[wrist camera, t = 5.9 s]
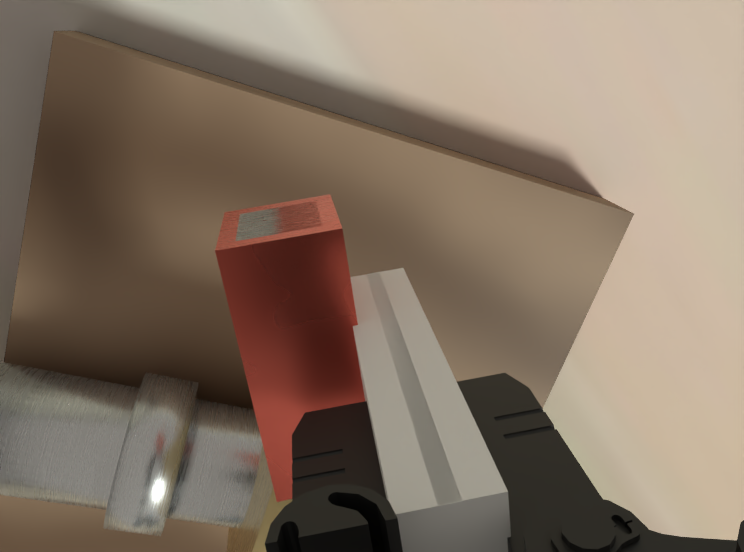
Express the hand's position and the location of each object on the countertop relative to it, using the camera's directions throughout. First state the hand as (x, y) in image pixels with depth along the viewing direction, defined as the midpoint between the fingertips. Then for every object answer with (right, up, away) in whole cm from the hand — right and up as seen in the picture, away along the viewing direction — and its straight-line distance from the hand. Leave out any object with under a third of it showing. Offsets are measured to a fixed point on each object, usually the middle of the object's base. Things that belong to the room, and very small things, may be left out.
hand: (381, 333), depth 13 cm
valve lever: (-1, -3, +1) cm, 3 cm away
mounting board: (-4, -4, +11) cm, 12 cm away
